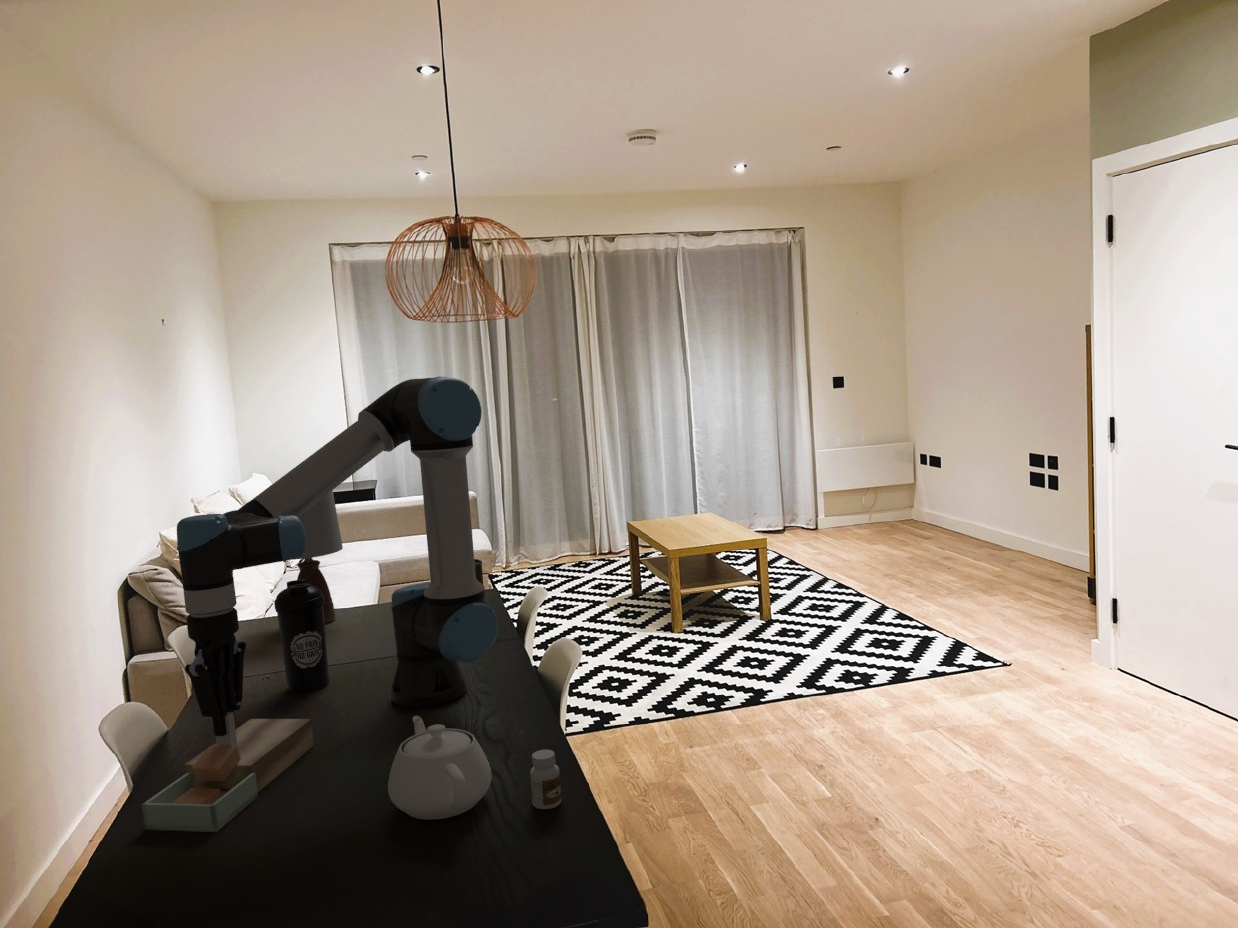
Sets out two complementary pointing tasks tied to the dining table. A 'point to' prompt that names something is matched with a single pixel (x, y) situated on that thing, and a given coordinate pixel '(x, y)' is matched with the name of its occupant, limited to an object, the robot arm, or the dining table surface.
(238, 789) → the tray
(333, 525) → the lamp
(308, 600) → the water bottle
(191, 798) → the tile
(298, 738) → the long beige platform
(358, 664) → the dining table surface
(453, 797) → the teapot
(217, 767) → the tile
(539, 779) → the pill bottle
